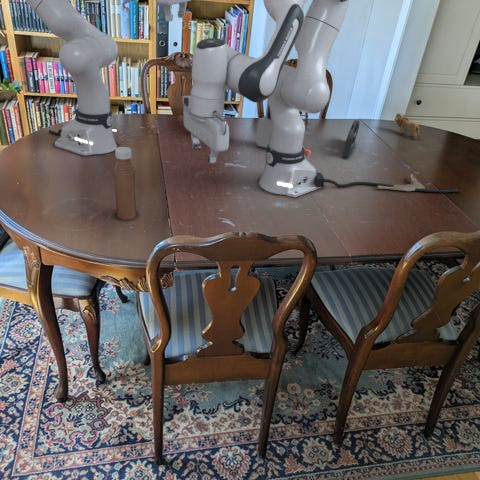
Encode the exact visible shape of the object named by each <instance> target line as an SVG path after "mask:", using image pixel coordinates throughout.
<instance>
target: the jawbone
mask: <svg viewBox="0 0 480 480" xmlns="http://www.w3.org/2000/svg"><path fill="white" fill-rule="evenodd" d="M409 179H410V184H409V183H408V184H393V185H394V186H393V187H387V186H380V185H378V186H376V188H377V189H380V190H391V191H400V192H409V193H410V192H416V191H415V190H416V189H415V188H419V189H426V187H425V185H424V184H422V183H421V182H419V181H418V179H417V177H415V176H414V174H413V173H410V174H409Z"/></svg>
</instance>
